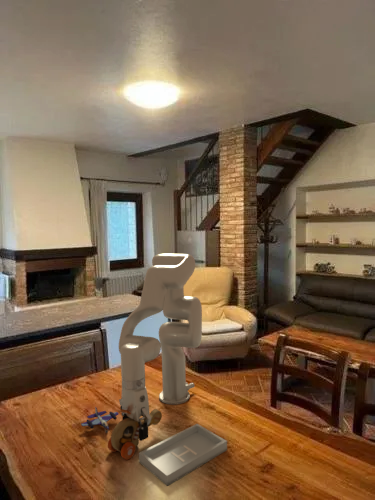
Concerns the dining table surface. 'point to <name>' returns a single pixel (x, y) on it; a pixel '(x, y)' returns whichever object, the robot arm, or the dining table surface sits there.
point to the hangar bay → (182, 453)
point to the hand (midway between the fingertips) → (135, 432)
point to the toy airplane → (100, 419)
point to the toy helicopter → (129, 433)
